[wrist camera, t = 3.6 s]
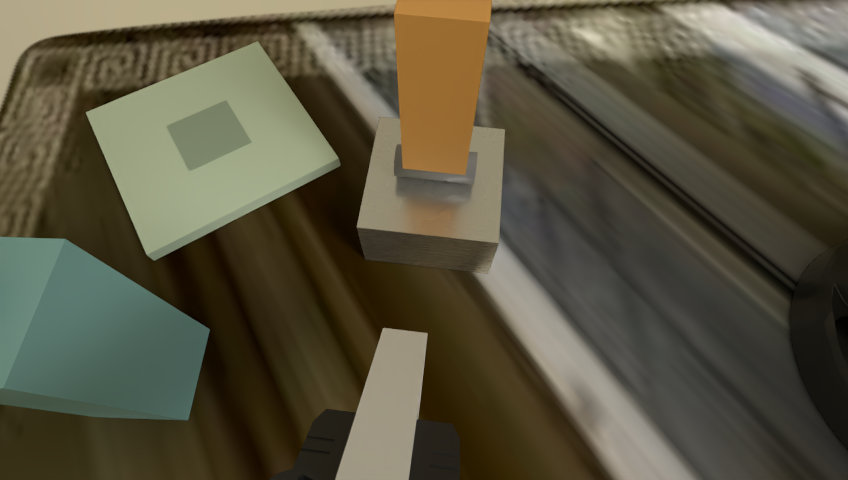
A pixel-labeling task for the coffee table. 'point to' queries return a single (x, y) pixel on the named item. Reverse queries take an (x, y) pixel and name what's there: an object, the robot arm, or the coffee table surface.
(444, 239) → the box
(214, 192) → the pad
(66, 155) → the coffee table surface
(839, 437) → the robot arm
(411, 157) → the lever
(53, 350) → the teal tall block
